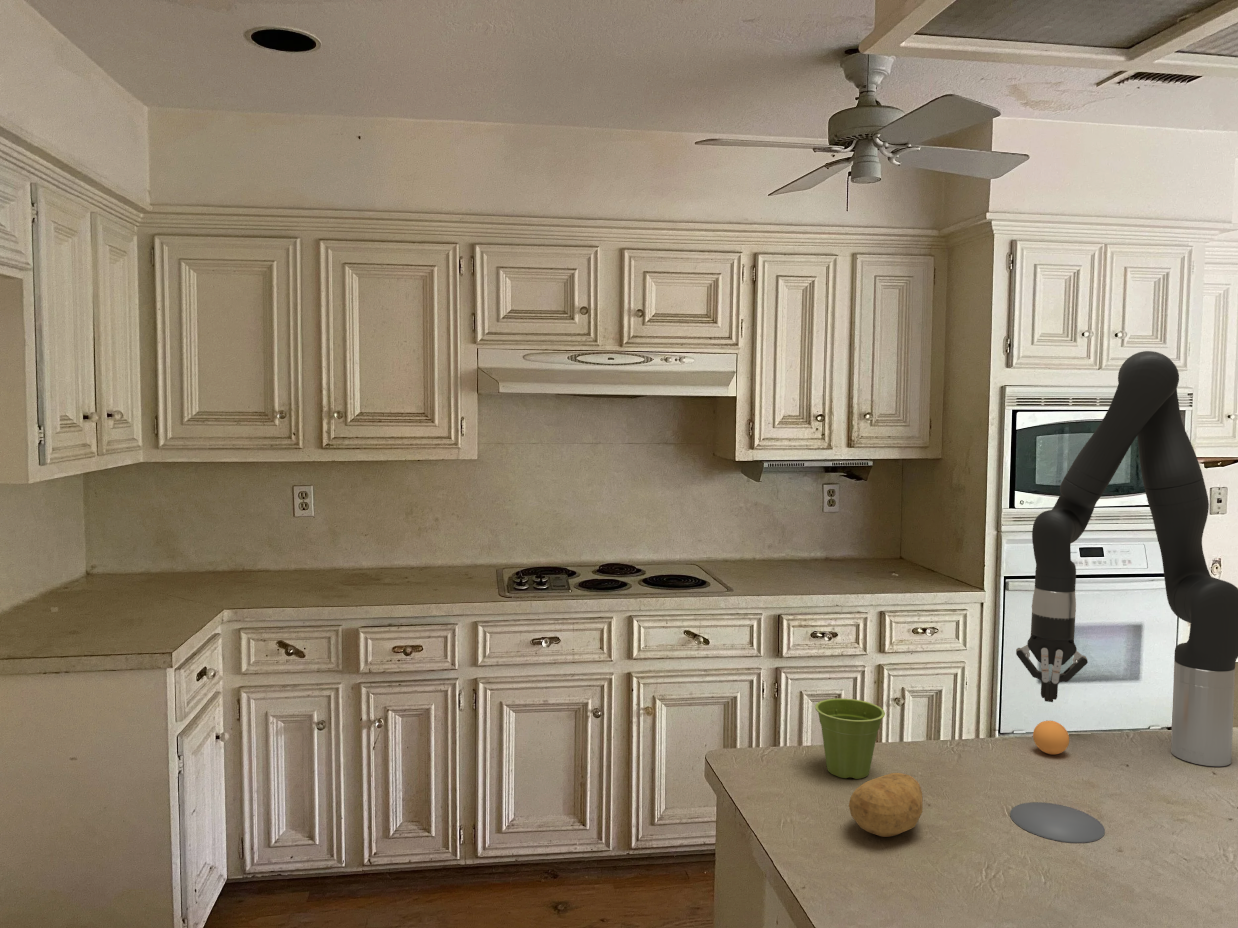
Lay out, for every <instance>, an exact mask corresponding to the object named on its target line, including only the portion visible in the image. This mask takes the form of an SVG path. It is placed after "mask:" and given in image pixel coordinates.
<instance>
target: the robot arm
mask: <svg viewBox="0 0 1238 928" xmlns="http://www.w3.org/2000/svg"><path fill="white" fill-rule="evenodd" d="M1179 381H1180V373H1179V370H1178V368H1177V366H1176V364H1175V363H1174V362H1173V361H1172V360H1171V359H1170V358H1169V357H1168V356H1167V355H1165V354H1163V353H1161V352H1157V351H1152V350H1145V351H1139V352H1137V353H1134V354H1132V355H1131V356H1129V357H1128V358H1126V359H1125V361H1124V362H1123V363H1122V364H1121V366H1120V368H1119V371H1118V374H1117V382H1118V384H1117V388H1116V390H1115V393H1114V395H1113V397H1112V400H1111V403H1110V405H1109V408H1108V409H1107V411H1106V412H1105V415H1104V417H1103V418H1102V420H1101V422H1100V423H1099V425H1098V426H1097V427H1096V429H1095V431H1094V432H1093V433H1092V435H1091V436H1090V437H1089V439H1088V440H1087V442H1086V443H1085V444H1084V445H1083V447H1082V448H1081V450H1080V452H1079V453H1078V454H1077V456H1076V457H1075V459H1074V460H1073V462H1072V464H1071V465H1070V467H1069V469H1068V470H1067V472H1066V474H1065V476H1064V478H1063V479H1062V481H1061V483H1060V485H1059V491H1060V495H1059V497H1058V498H1057V500H1056V502H1055V504H1054V506H1053V507H1052V509H1048V510H1045V511H1042V512H1041V513H1039V514H1038V515H1037V516H1036V518H1035V520H1034V522H1033V525H1032V531H1031V539H1032V549H1033V555H1034V560H1035V576H1034V579H1035V580H1034V589H1033V594H1032V601H1031V623H1030V636H1029V638H1028V640H1027V642H1026V645H1024V646H1022V647H1017V648H1016V650H1015V654H1016V656H1017V658H1019V660H1020V661H1021V663H1022V665H1024V668H1025V669H1027V671H1028V672H1029V674H1030V675H1031V676H1032V678H1034V679H1038V680H1039V681H1040V682H1041V683H1040V684H1041V685H1040V696H1041V698H1042V699H1043V700H1044V702H1047V703H1054V700H1057V698H1058V691H1059V690H1058V689H1059V688H1058V687H1059V684H1060V683H1062V682H1064V683H1068V682H1069V681H1070V680H1071V679H1072V678H1074V676H1076V675H1077V674H1078V673H1079V672H1080V671H1081V670H1082V669H1083V668H1084V667H1086V665H1087V664H1088V662H1089V661H1088V658H1087V656H1086V655H1082V654H1081V653H1080V652H1079V651H1078V648H1077V645H1076V643H1075V629H1076V628H1075V627H1076V626H1075V625H1076V612H1077V609H1076V608H1077V599H1076V585H1077V566H1076V564H1075V563H1074V561H1072V557H1071V553H1072V551H1071V546H1072V545H1071V544H1072V543H1074V542H1076V541H1077V540H1079V538H1080V537H1081V536H1082V535H1083V533H1084V531H1085V530H1086V528H1087V526H1088V524H1089V522H1090V519H1091V517H1092V514H1093V513H1094V510H1095V508H1096V504H1097V502H1098V501H1099V500H1100V498H1101V497H1102V495H1103V494H1104V492H1105V490H1106V489H1107V487H1108V486H1109V484H1110V482H1111V480H1112V479H1113V477H1114V476H1115V474H1116V472H1117V471H1118V469H1119V467H1120V465H1121V463H1122V461H1123V460H1124V459H1125V456H1126V455H1127V453H1128V451H1129V449H1130V448H1131V446H1132V444H1133V443H1134V441H1135V440H1136V439H1137V445H1138V457H1139V465H1140V471H1141V472H1140V473H1141V478H1142V484H1143V487H1144V492H1145V496H1146V501H1147V504H1148V507H1149V510H1150V514H1151V517H1152V522H1153V527H1154V530H1155V535H1156V538H1157V542H1158V546H1159V550H1160V554H1161V555H1160V556H1161V561H1162V569H1163V578H1164V585H1165V586H1164V587H1165V592H1166V593H1165V594H1166V598H1167V599H1166V600H1167V603H1168V606H1169V608H1170V610H1171V611H1172V612H1173V614H1174V615H1175V616H1176V617H1177V618H1179V619H1180V620H1182V621H1184V622H1186V623H1188V624H1190V627H1189V635H1188V640H1187V641H1186V642H1182V643H1178V644H1177V645H1176V646H1175V648H1174V656H1173V659H1174V660H1173V686H1172V688H1173V689H1172V691H1173V693H1172V716H1171V717H1172V718H1171V736H1170V737H1171V743H1170V753H1171V754H1172V755H1173V756H1174V757H1176V758H1178V759H1180V760H1183V761H1185V762H1188V763H1192V764H1196V765H1200V766H1207V767H1226V766H1229V765H1231V763H1232V755H1233V754H1232V753H1233V731H1234V706H1235V686H1236V685H1235V681H1236V678H1235V677H1236V661H1237V660H1238V586H1236V585H1235V584H1233V583H1231V582H1228V581H1225V580H1223V579H1220V578H1216V577H1213V576H1211V574H1210V571H1209V569H1208V565H1207V562H1206V557H1205V554H1204V548H1203V536H1204V530H1205V527H1206V524H1207V519H1208V515H1209V509H1210V504H1209V496H1208V491H1207V487H1206V484H1205V480H1204V476H1203V472H1202V469H1201V465H1200V463H1199V461H1198V457H1197V455H1196V452H1195V450H1194V447H1193V445H1192V442H1191V440H1190V437H1189V435H1188V434H1187V431H1186V428H1185V426H1184V424H1183V419H1182V416H1181V411H1180V403H1179V396H1178V389H1177V388H1178V386H1179ZM1030 651H1031V653H1032V655H1033V656H1034V658H1035V659H1036V660H1037V662H1039V663H1040V666H1041V667H1040V668H1041V669H1040V670H1038V669H1037V667H1036V665H1034V663H1033V662H1032V660H1031V659H1030V657H1031V654H1030ZM1071 658H1072V664H1071V665H1069V666H1068V668H1066V669H1065V670H1064V671H1063V672H1062V673H1061V668H1062V666H1063V665H1065V664H1066V663H1067V662H1068V661H1070V659H1071ZM1050 665H1051V668H1052V669H1051V676H1050V677H1049V671H1050V670H1049V666H1050Z"/></svg>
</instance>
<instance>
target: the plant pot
mask: <svg viewBox="0 0 1238 928" xmlns="http://www.w3.org/2000/svg"><path fill="white" fill-rule="evenodd" d="M814 708H815V711H816V712H817V714H818V719H819V723H820V726H821V732H822V733H821V735H822V740H823V742H822V743H823V748H824V757H825V762H826V763H825V764H826V769H827V771H828V773H830V774H831V775H832V776H836V777H838V778H841V779H847V778H853V779H855V780H860V779H864V778H866V777H867V776H869V774H870V770H871V766H872V763H873V762H872V760H873V755H874V751H875V745H876V741H877V736H878V731H879V730H880V727H881V723H882V719H884V718H885V715H886V711H885V710H884V709H883V708H882V707H880V706H879V705H876V704H874V703H872V702H869V701H864V700H859V699H853V698H843V697H842V698H840V697H839V698H838V697H837V698H827V699H824V700H821V701H818V702H817V703H815V706H814Z"/></svg>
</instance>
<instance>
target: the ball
mask: <svg viewBox="0 0 1238 928" xmlns="http://www.w3.org/2000/svg"><path fill="white" fill-rule="evenodd" d="M1032 737H1033V738H1032V739H1033V741H1034V744H1035V746H1036V747H1038V750H1040V751H1042V752H1043V753H1045V754H1048V755H1059V754H1062V753H1063V752H1064V751H1066V750H1067V748H1068V746H1069V744H1070V735H1069V732H1068V731H1067V729H1066V728H1065V727H1064V726H1063V725H1062V724H1061V723H1059V722H1057V721H1054V720H1043V721H1040V722H1039V723H1038V724H1037V725H1036V726H1035V727H1034V728H1033V734H1032Z"/></svg>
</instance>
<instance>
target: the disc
mask: <svg viewBox="0 0 1238 928" xmlns="http://www.w3.org/2000/svg"><path fill="white" fill-rule="evenodd" d="M1009 813H1010V814H1009V816H1010V818H1011V820H1012V822H1013V823H1014V824H1015V825H1017V826H1018V827H1020V828H1021V829H1023V830H1024V831H1026V832H1028V833H1030V834H1033V835H1034V836H1038V837H1041V838H1045V839H1047V840H1053V841H1055V842H1061V843H1062V842H1063V843H1068V844H1069V843H1071V844H1082V843H1083V844H1084V843H1085V844H1088V843H1093V842H1096V841H1098V840H1100V839H1102V838H1103V837H1104V836H1105V826H1104V825H1103V824H1102V823H1101V821H1099V820H1098V819H1097V818H1096V817H1094V816H1092V815H1091V814H1088V813H1087V812H1085V811H1082V810H1080V809H1077V808H1074V807H1071V806H1068V805H1067V806H1066V805H1063V804H1059V803H1058V804H1057V803H1051V802H1041V801H1040V802H1039V801H1035V802H1032V801H1031V802H1024V803H1020V804H1016V805H1015V806H1013V807H1012V808H1011V809H1010V812H1009Z"/></svg>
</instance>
